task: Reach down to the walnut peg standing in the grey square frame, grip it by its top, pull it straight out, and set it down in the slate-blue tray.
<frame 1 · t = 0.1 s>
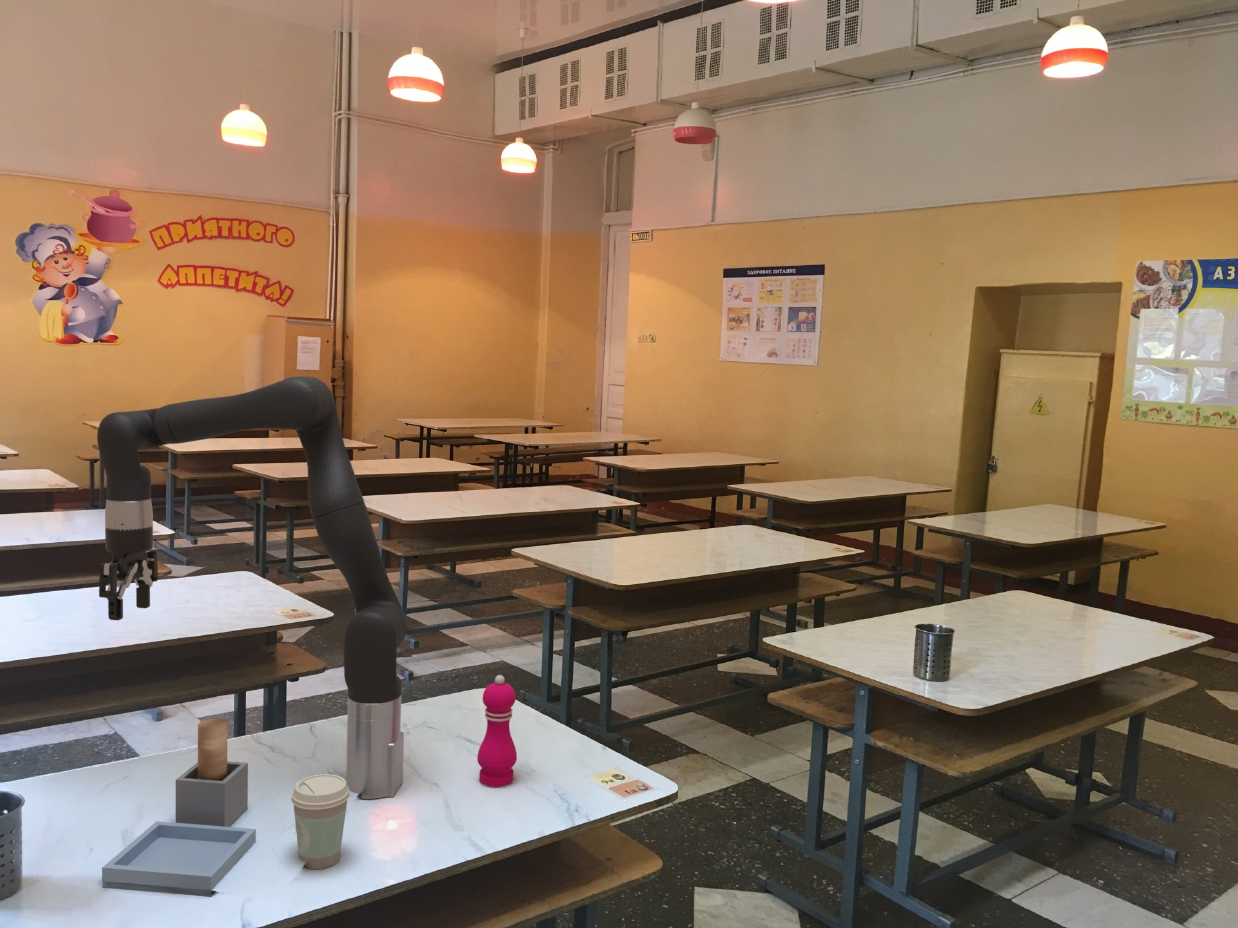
hand: (129, 613, 170), 29 cm above the table, tool pointing down, fingers open, 8 cm apart
walnut peg: (212, 818, 154), point 1 cm above the table, touching grey square frame
tray: (182, 866, 141), on the table
grey square frame: (212, 824, 155), on the table
coffee cup: (319, 860, 145), on the table
pepper mill: (496, 781, 176), on the table
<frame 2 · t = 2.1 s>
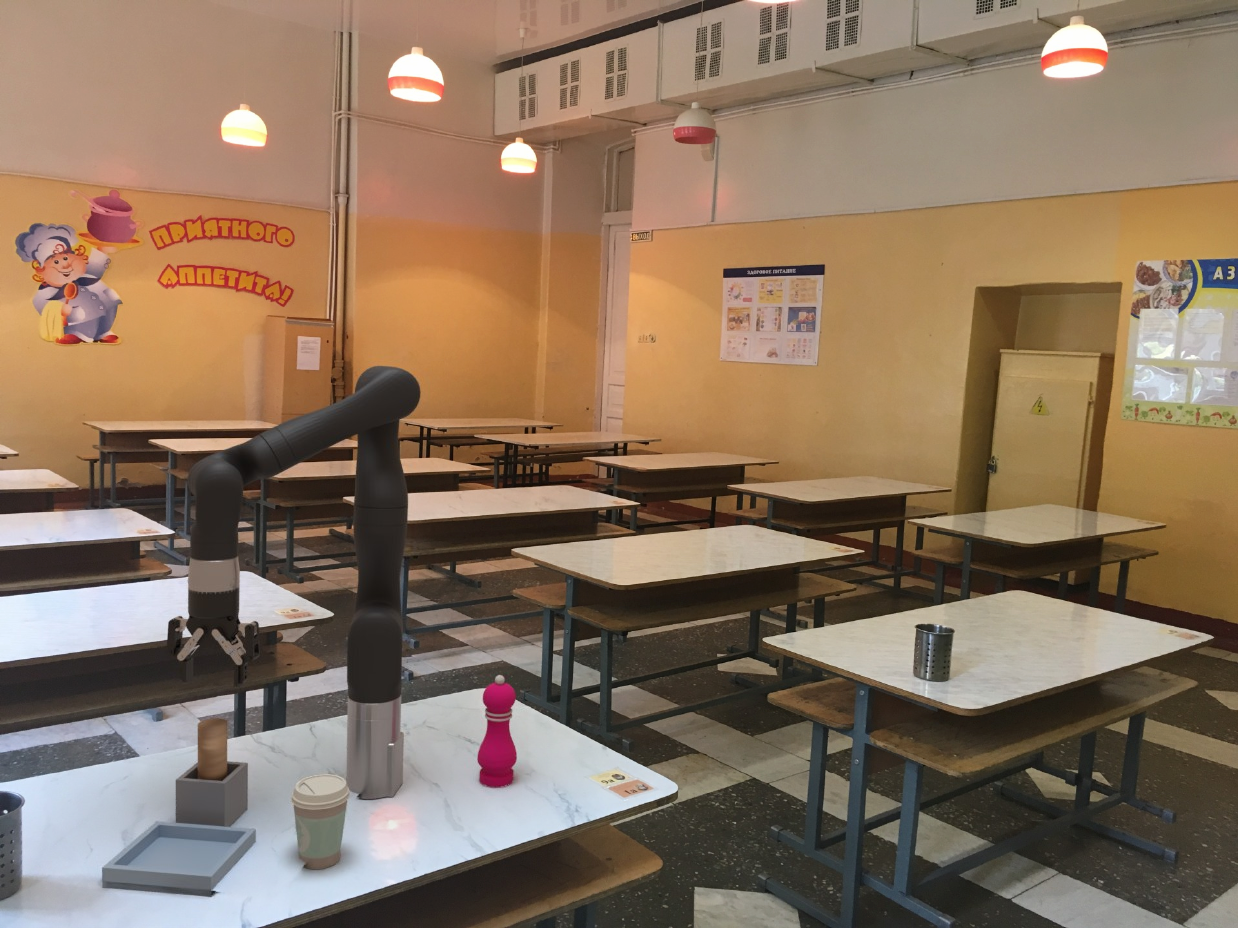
hand: (213, 683, 152), 24 cm above the table, tool pointing down, fingers open, 8 cm apart
nothing on the table moved.
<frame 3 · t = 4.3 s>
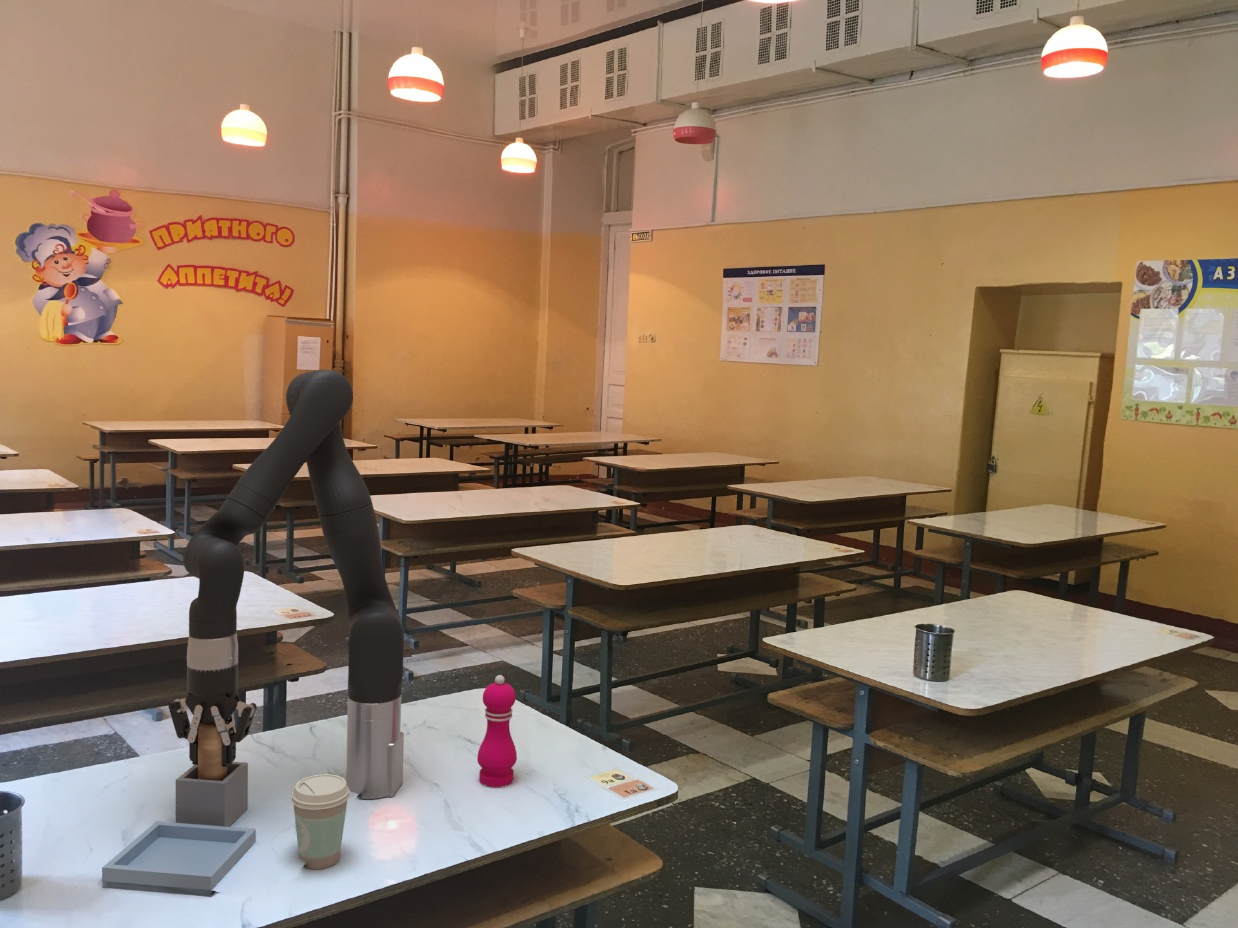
hand: (212, 763, 153), 10 cm above the table, tool pointing down, fingers closed on walnut peg, 4 cm apart
walnut peg: (212, 818, 154), point 1 cm above the table, touching grey square frame, gripper
everything else where it was.
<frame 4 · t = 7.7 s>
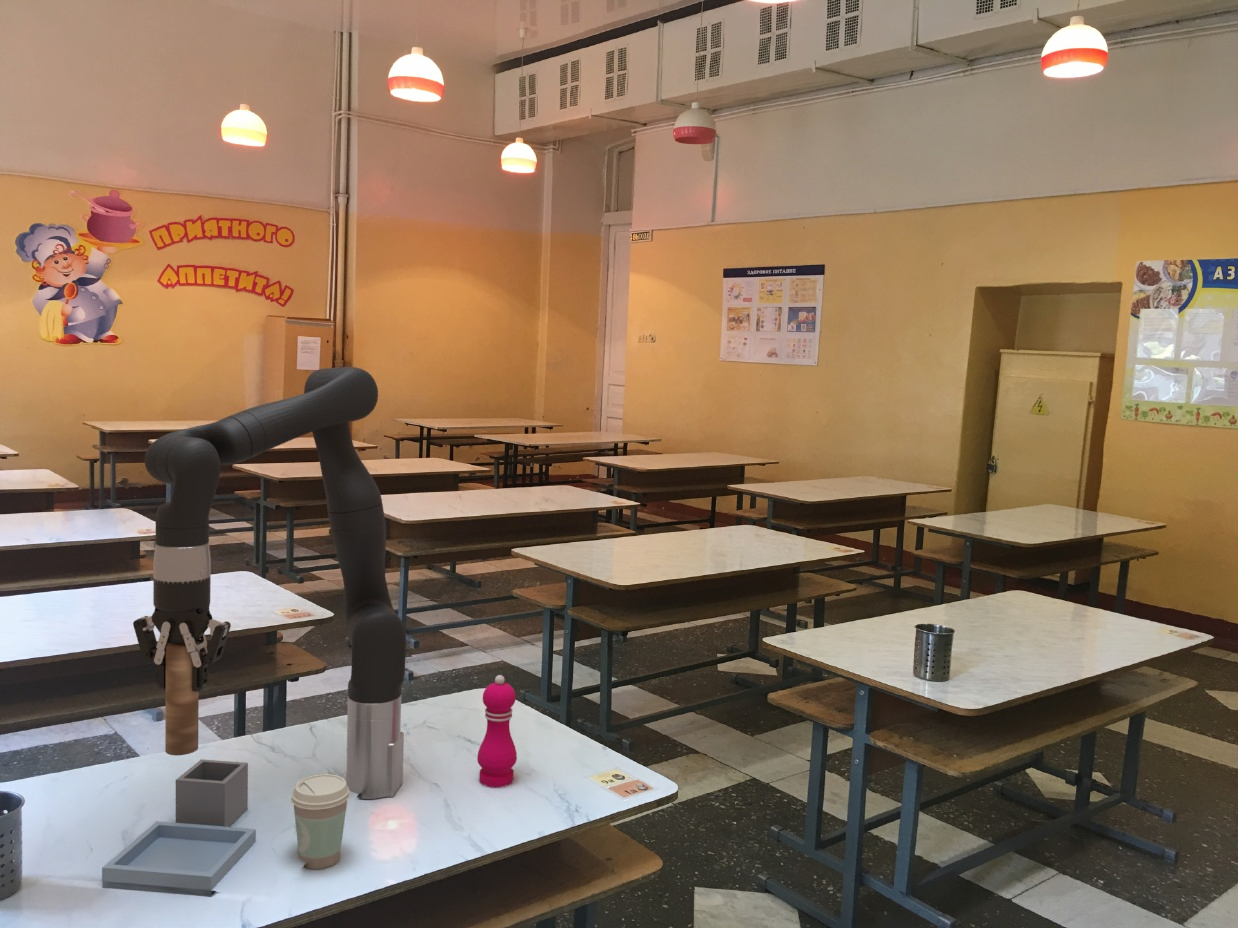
hand: (181, 688, 139), 27 cm above the table, tool pointing down, fingers closed on walnut peg, 4 cm apart
walnut peg: (181, 749, 140), point 18 cm above the table, touching gripper
everything else where it was.
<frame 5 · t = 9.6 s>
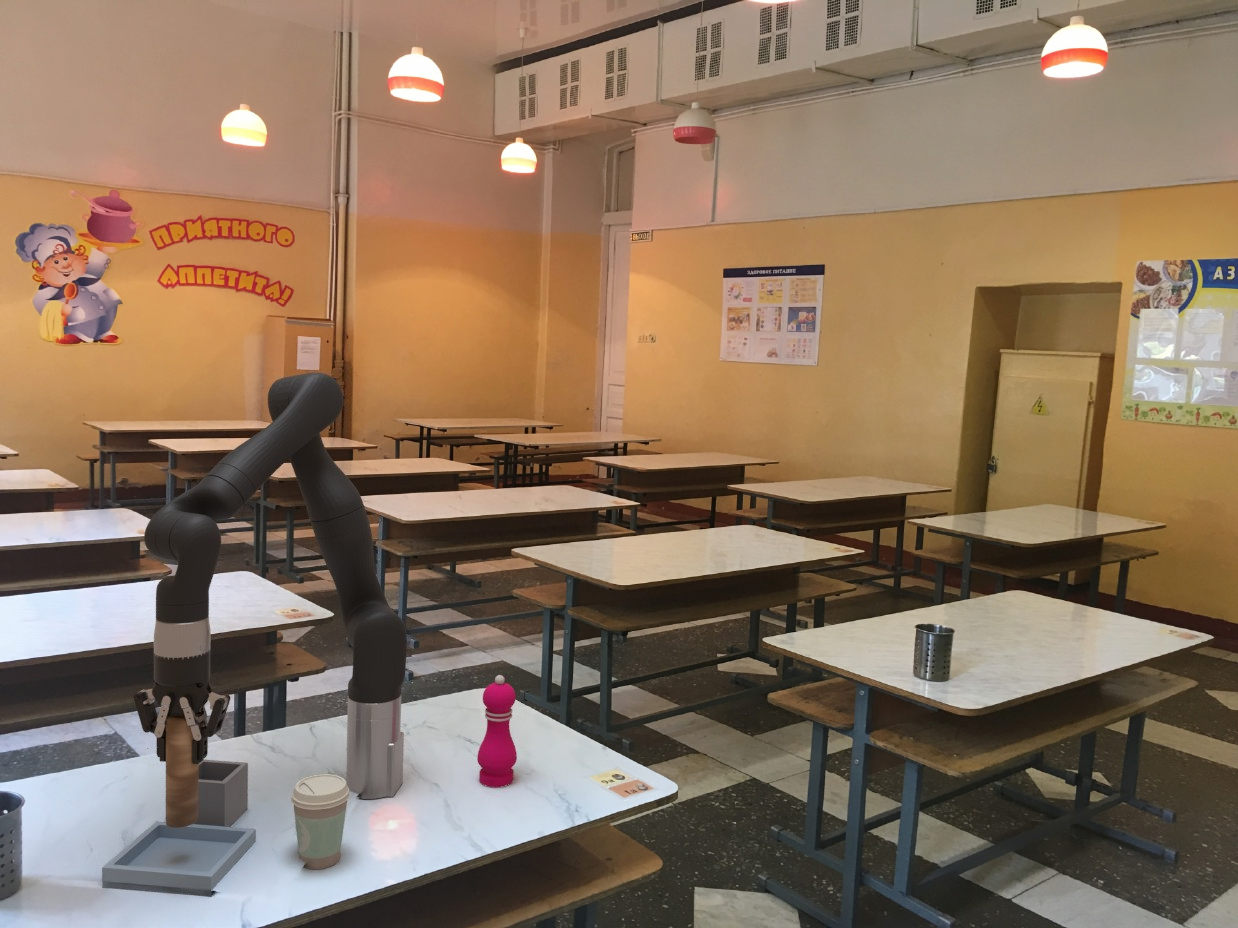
hand: (181, 760, 140), 16 cm above the table, tool pointing down, fingers closed on walnut peg, 4 cm apart
walnut peg: (182, 820, 141), point 7 cm above the table, touching gripper
everything else where it was.
when the fingers open (12 cm above the table, at t = 11.3 s): walnut peg drops 2 cm, resting on tray.
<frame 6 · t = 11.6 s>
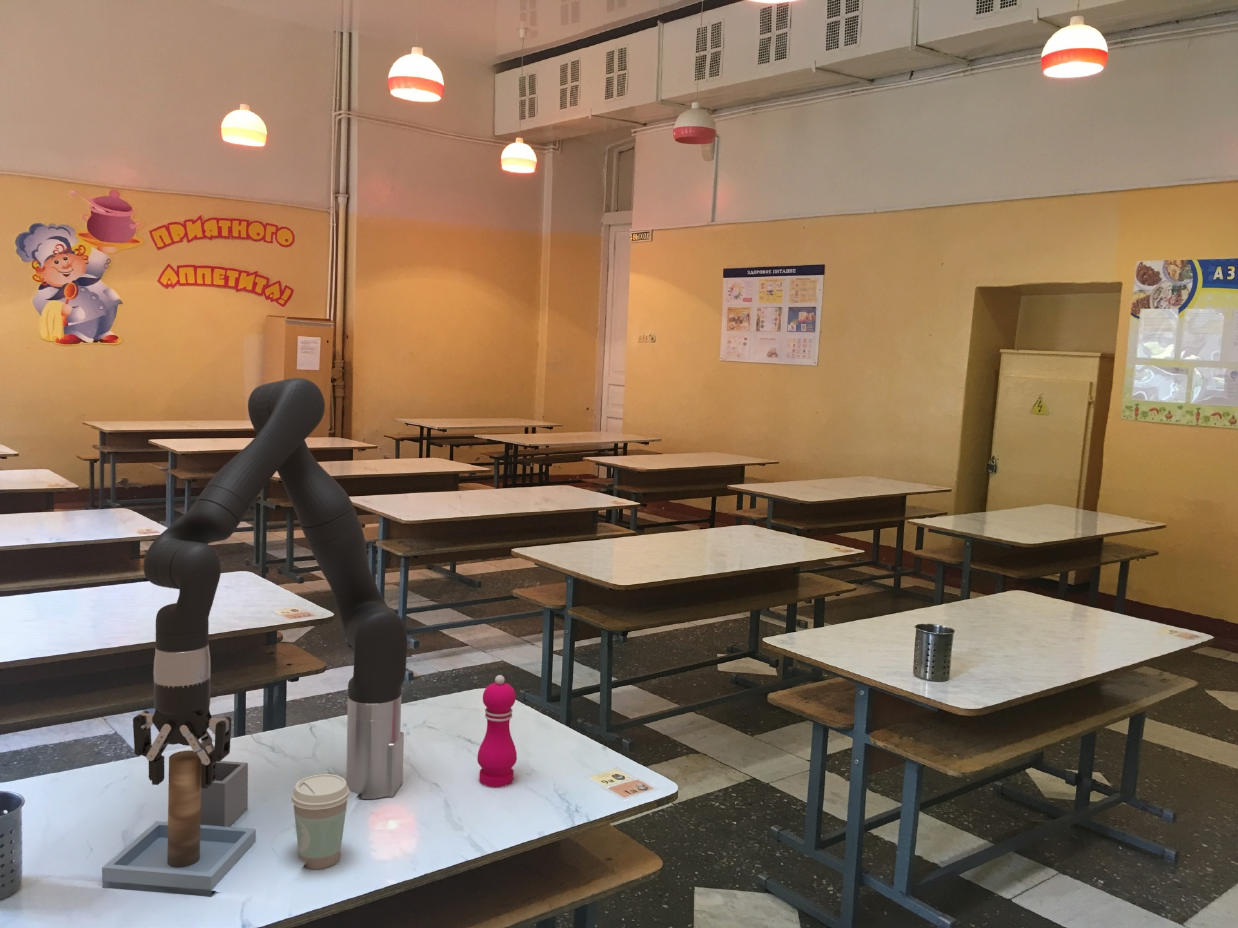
hand: (182, 784, 140), 13 cm above the table, tool pointing down, fingers open, 7 cm apart
walnut peg: (183, 859, 141), point 1 cm above the table, touching tray
everything else where it was.
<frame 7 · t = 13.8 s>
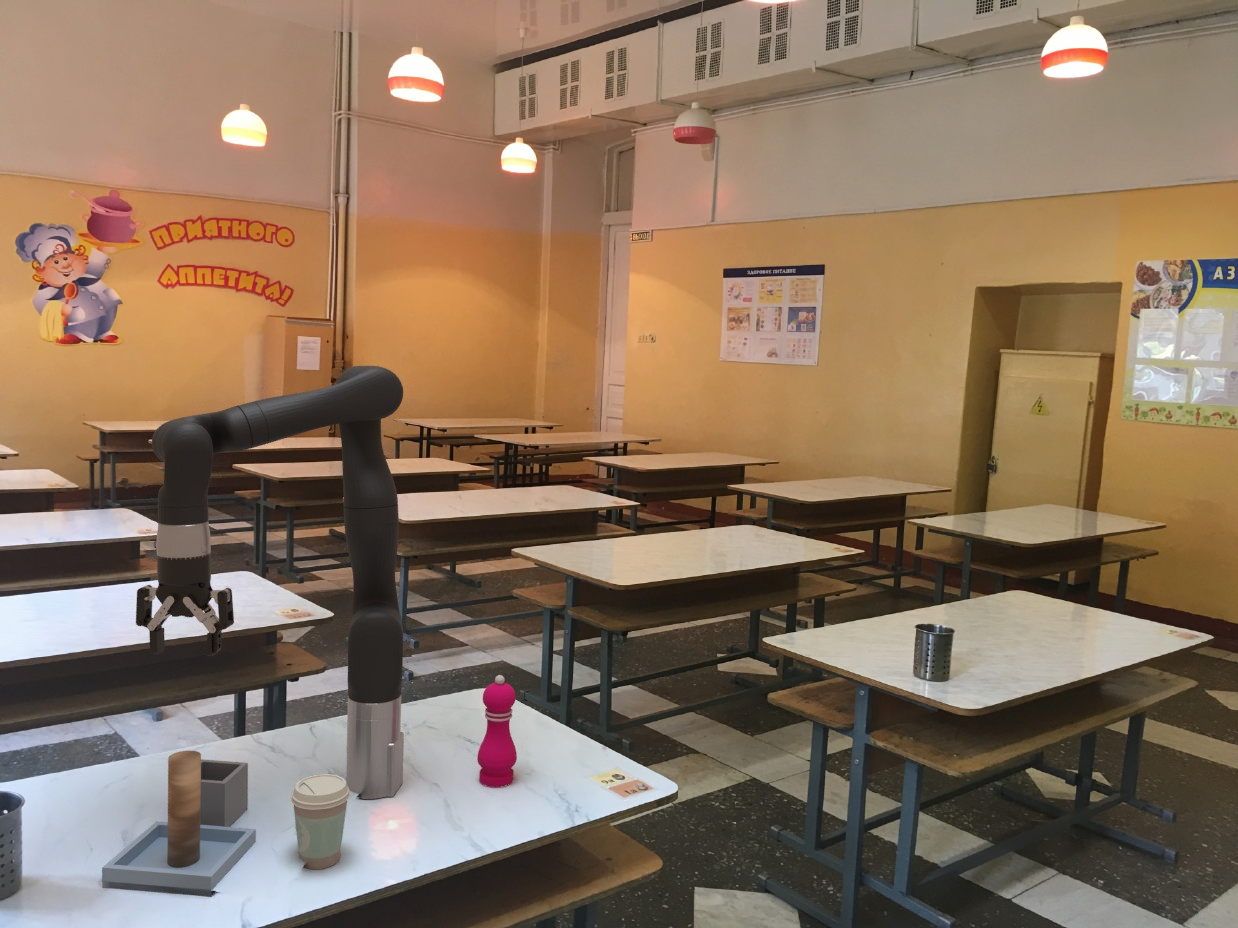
hand: (185, 653, 147), 30 cm above the table, tool pointing down, fingers open, 8 cm apart
nothing on the table moved.
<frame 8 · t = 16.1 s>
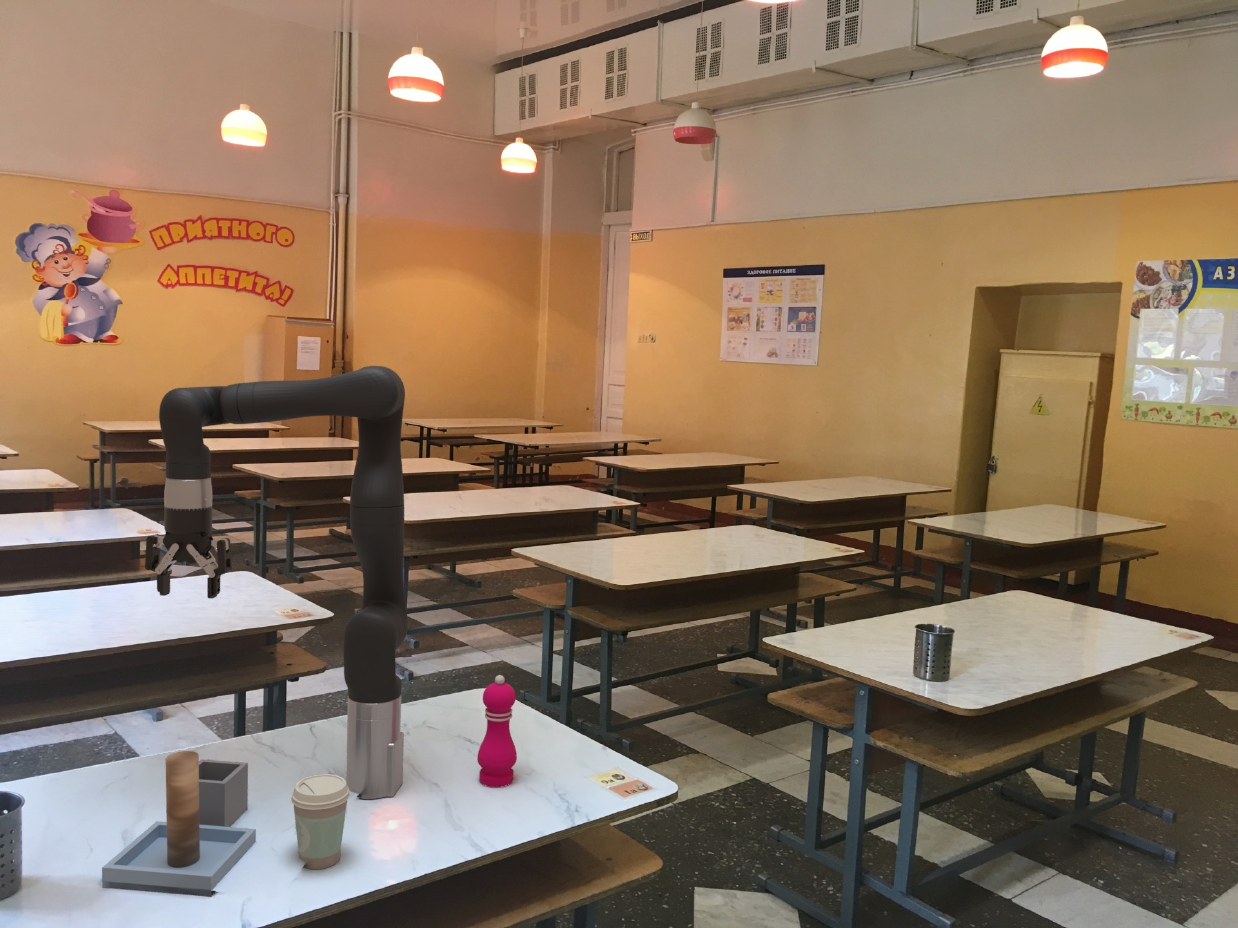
hand: (188, 596, 165), 34 cm above the table, tool pointing down, fingers open, 8 cm apart
nothing on the table moved.
at the end: walnut peg inside the target area on the tray (0.1 cm from its centre), point 1.0 cm above the tray's base; the gripper is holding nothing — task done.
